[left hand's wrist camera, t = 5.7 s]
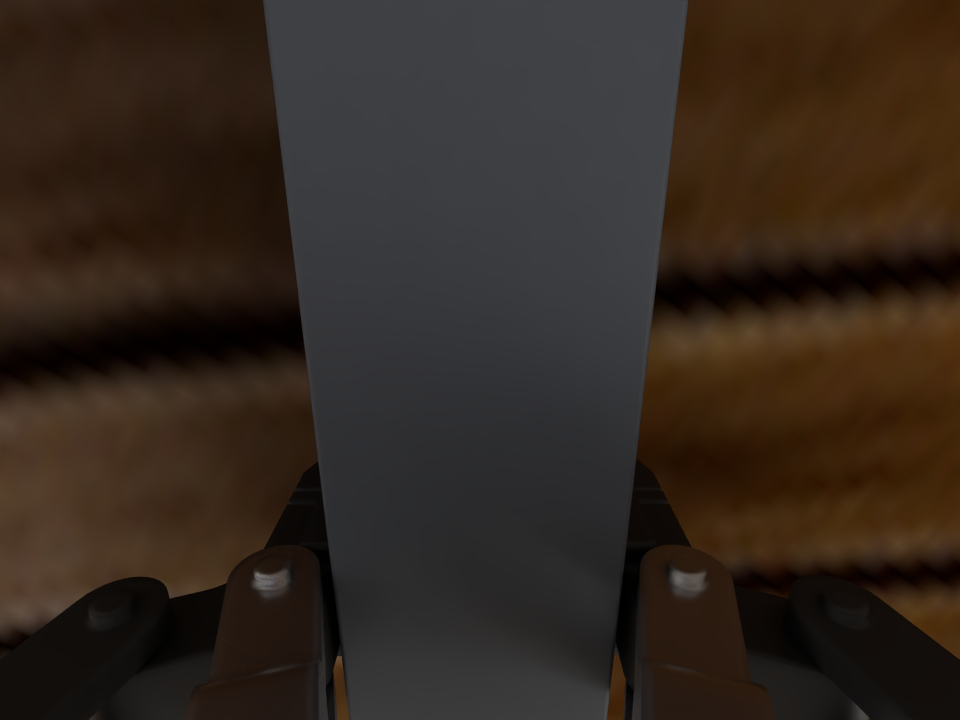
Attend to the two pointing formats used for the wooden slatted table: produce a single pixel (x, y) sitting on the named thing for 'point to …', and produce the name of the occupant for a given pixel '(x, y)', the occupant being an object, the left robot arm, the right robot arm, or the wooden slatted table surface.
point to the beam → (476, 330)
